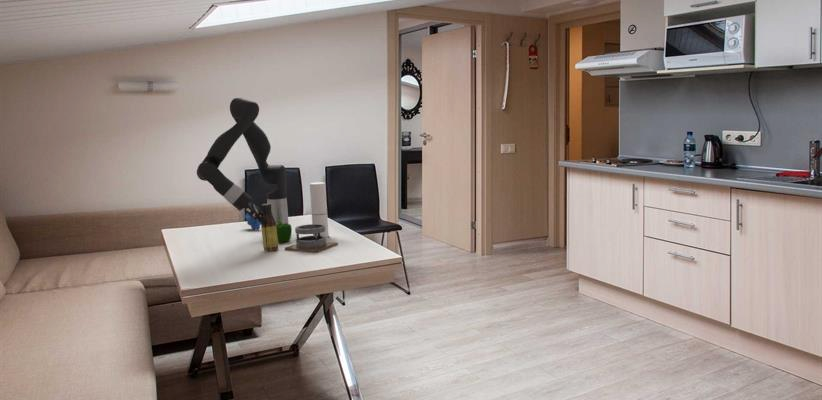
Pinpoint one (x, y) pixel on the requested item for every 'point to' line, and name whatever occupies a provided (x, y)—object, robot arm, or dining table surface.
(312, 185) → the cylindrical container
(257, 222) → the grapes
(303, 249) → the collar stand
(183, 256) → the dining table surface
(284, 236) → the bell pepper
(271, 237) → the sauce bottle
